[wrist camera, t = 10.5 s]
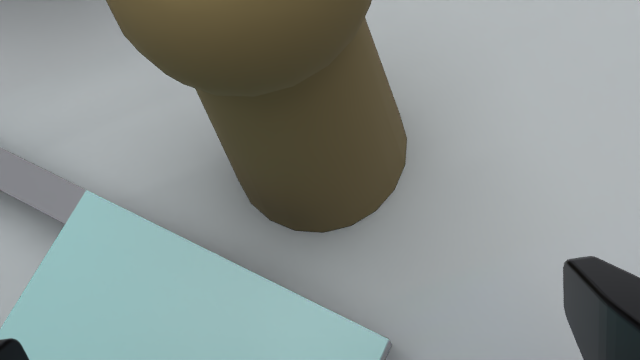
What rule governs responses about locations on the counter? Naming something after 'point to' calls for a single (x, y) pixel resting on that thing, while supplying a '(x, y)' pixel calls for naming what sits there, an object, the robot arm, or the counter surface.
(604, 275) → the robot arm
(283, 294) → the teal gray square board
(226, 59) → the brown waisted cylinder
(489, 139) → the counter surface
